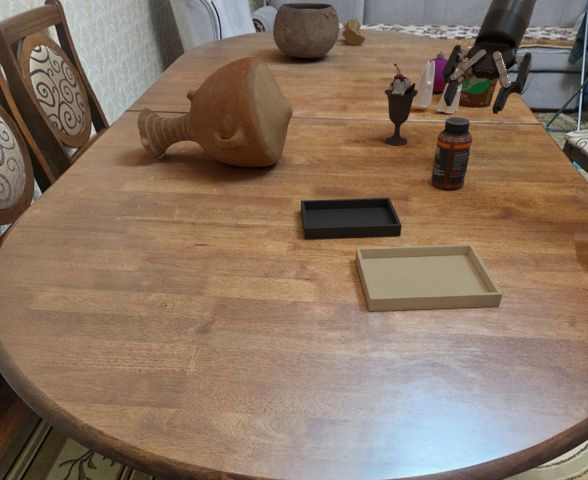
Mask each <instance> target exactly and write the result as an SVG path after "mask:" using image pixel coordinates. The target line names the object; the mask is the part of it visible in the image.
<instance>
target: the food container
mask: <svg viewBox="0 0 588 480" xmlns="http://www.w3.org/2000/svg"><path fill="white" fill-rule="evenodd" d="M467 61H468V58H465V59H464V60H463V61H462V63H459V64H458V66H457V68H456V69H458V70H459V69H460V68H461V66H462V65H463V64H464V63H466V62H467ZM470 70H471V68H470V69H469V71H470ZM469 71H468V72H469ZM498 82H499V80H498V78H495V79H493V80H488V79H486V78H476V76H474V77H473V78H471V79H470V80H469V81H465V82H463V83H462V88H461V93H460V100H459V106H462V107H467V108H476V109H477V108H487V107H491V105H492V101H493V97H494V93H495V91H496V87H497V83H498Z"/></svg>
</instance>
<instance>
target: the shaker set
mask: <svg viewBox="0 0 588 480" xmlns="http://www.w3.org/2000/svg"><path fill="white" fill-rule="evenodd" d="M429 61H430V60H429ZM429 61H427V62H426V63H425V65H424V66H423V68H422V70H421V72H420V73H419V76H418V78H417V81H416V83H415V88H414V90H417V91H418V93H417V95H416V96H415V97H414V98H413V102H412V106H411V109H414V110H418V111H423V110H426V109H427V108H428V107H429V106H431V105H432V100H433V93H434V92H433V82H434V73H435V62H434V61H431V63H430V62H429ZM457 70H458V69H457V68H456V70H455V72H456V71H457ZM448 84H449V83H447V84H446V86H445V89H444V90H443V91H442V92H443V93H442V95H441V97H440V100H439V101H438V103H437V106H436V107H435V111H436V112H441V113H442V112H443V113H445V114H455V112H458V111H459V106H460V105H459V100H460V93H461V88H462V84H461V85H459V86H458V90H457V93H456V95H455V97H454V100H453V102H452V105H451V106H446V102H445V100H444V94H445V91H446V89H447V86H448Z"/></svg>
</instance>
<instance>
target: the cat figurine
mask: <svg viewBox="0 0 588 480" xmlns="http://www.w3.org/2000/svg"><path fill="white" fill-rule="evenodd" d="M342 24H343V25H342V26H343V28H344V29H343V31H342V37H343V38H344V40H345V42H346V44H347V45H352V46H356V45H358V46H361V45H362V44H363V43H364V42H365V41H366V37H365V36H363V35H362V34H361V31H362V30H361V24H360V21H359V20H358V19H356V18H351V19H349V20H347V21H346V20H345V21H343V22H342Z"/></svg>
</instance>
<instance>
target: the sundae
mask: <svg viewBox="0 0 588 480" xmlns="http://www.w3.org/2000/svg"><path fill="white" fill-rule="evenodd" d="M393 66H394V67H395V68H396V70H397V72H396V75H394V76H393V81H392V82H391V83H389V84H390V85H389V86H388V89H385V90H384V94H385V95H386V96H387V103H388V105H387V106H388V118H389V120H390V122H391V123H392V124H393V125H394V131H393V134H392V135H391V136H388V137H386V138H385V139H384V142H385V144H388V145H391V146H403V145H406V144H407V143H408V139H407V138H405V137H403V136H401V126H402V125H404V124H405V123H406V122H407V120H408V119H409V116H410V113H411V109H412V107H411V106H412V102H413V98H414V97H415V96H416V95H417V93H418V91H417V90H414V89H415V87H416V83H415V82H414V83H412V81H411V80H410V79H409V78H408V77H407V76H404V74H403V73H401V71H400V68H399V66H398V64H397V63H394V64H393Z"/></svg>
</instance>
